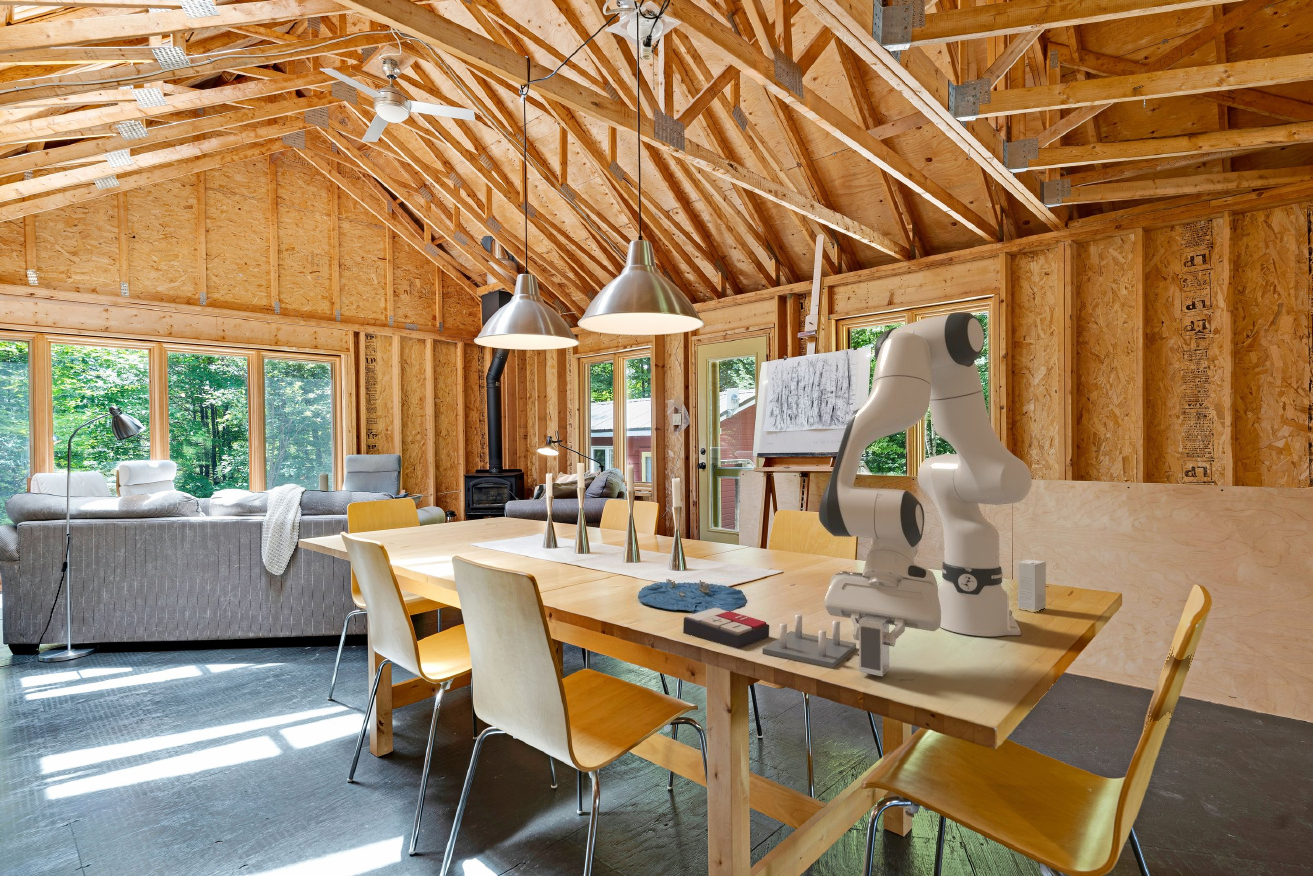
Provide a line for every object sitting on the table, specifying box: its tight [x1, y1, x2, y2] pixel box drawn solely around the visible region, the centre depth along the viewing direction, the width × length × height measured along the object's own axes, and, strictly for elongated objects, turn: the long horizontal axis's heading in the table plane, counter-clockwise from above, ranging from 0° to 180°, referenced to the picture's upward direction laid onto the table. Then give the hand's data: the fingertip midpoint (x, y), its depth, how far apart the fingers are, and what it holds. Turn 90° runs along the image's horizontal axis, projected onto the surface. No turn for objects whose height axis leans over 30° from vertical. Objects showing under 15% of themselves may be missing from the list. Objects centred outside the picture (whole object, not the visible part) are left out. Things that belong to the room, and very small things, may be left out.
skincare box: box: [1017, 559, 1047, 611], centre depth 153 cm, size 6×4×12 cm
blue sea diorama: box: [637, 578, 748, 614], centre depth 164 cm, size 30×30×5 cm
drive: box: [858, 615, 890, 677], centre depth 109 cm, size 5×4×9 cm
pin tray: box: [761, 613, 857, 669], centre depth 122 cm, size 14×14×6 cm
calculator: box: [682, 608, 770, 650], centre depth 132 cm, size 11×4×15 cm
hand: (873, 641), depth 109 cm, fingers closed on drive, 4 cm apart
